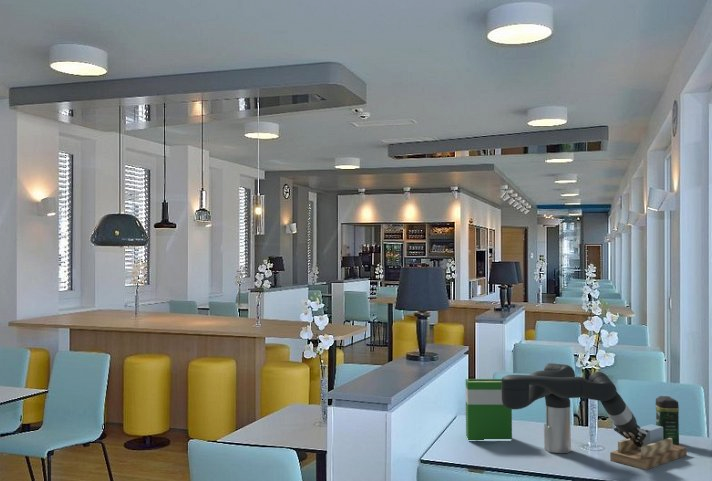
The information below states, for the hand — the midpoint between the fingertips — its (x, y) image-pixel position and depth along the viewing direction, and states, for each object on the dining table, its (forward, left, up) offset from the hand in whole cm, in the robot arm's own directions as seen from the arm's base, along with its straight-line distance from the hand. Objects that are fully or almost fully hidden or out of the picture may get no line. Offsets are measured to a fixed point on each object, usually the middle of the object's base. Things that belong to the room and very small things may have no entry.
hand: (640, 445), depth 255 cm
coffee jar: (+21, +22, -6) cm, 32 cm away
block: (+6, +6, -3) cm, 9 cm away
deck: (+5, +4, -6) cm, 9 cm away
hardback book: (-48, +34, -6) cm, 59 cm away
